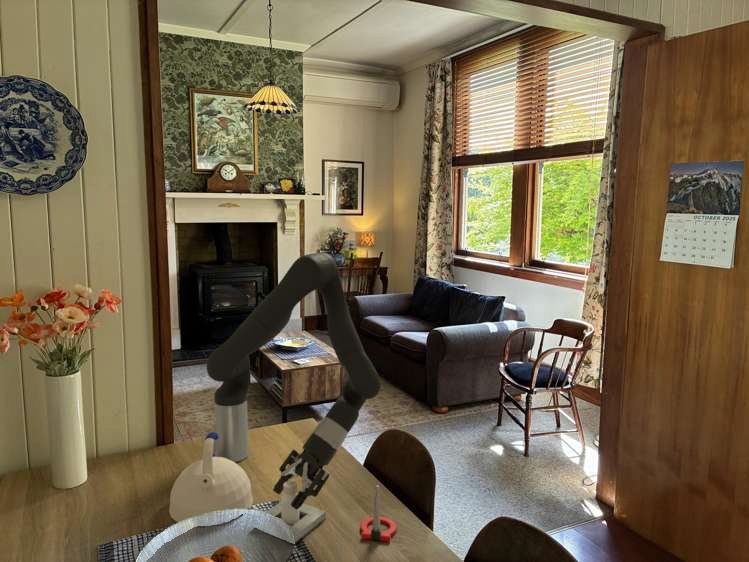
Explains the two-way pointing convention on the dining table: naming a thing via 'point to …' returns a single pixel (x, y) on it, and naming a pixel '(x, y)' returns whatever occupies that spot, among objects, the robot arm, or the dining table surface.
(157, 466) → the dining table surface
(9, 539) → the dining table surface
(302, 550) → the dining table surface
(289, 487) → the salt shaker
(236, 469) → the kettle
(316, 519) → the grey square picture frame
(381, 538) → the tow hook
